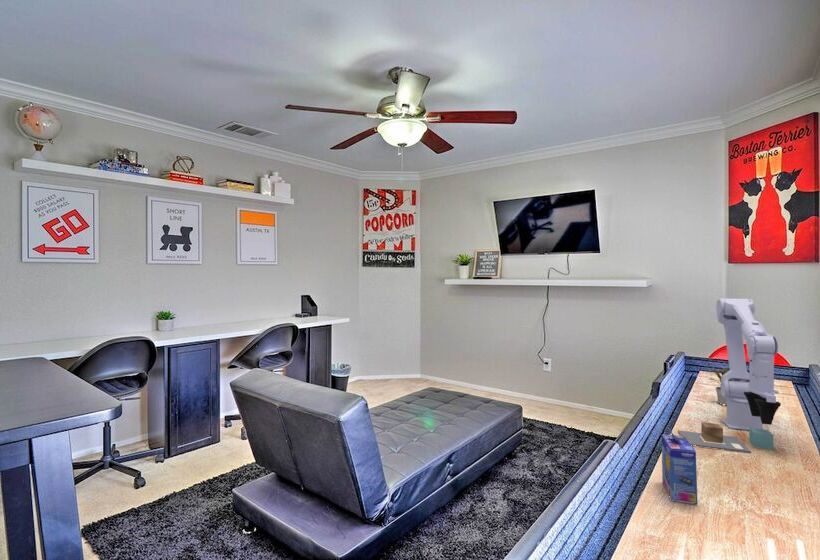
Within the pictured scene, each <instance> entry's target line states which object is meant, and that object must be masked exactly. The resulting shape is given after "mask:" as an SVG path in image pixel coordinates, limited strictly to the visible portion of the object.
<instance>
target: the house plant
mask: <svg viewBox="0 0 820 560" xmlns="http://www.w3.org/2000/svg"><path fill="white" fill-rule="evenodd" d="M703 367H705V368H706V366H703ZM716 367H717V368H718V366H716V365H715V367H714V366H712V367H709V366H707V368H708V369H709V370H710V369H711V370H712V371H713V372H714V373H715V374H716V377H717V378H718V379H719V381H718V380H716V379H714V378H713V377H712V378H709V379H708V381H709V382H710V383H711V382H714V383H718V384H719V385H720V386H716V387H715V390H716V397H717V401H718V402H719V403H721V404H725V405H727V399H726V398H724V397H723V396H722V394H721V377H722V375H724V374H725V373H727V372H728V368H729V364H726V366H725V368H724V367H722V369H723V370H721V368H718V369H719V370H717V368H716ZM733 381H738V380H733ZM718 402H717V403H718ZM719 403H718V404H719Z"/></svg>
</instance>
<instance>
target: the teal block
mask: <svg viewBox="0 0 820 560" xmlns="http://www.w3.org/2000/svg"><path fill="white" fill-rule="evenodd" d="M748 431H749V432H748V443H750V445H751V446H753V448H757V449H764V450H765V449H766V450H772V451H773V450H774V434H773V433H772V432H771V431H769V430H768V429H764V428H763V429H755V428H749V430H748Z"/></svg>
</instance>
